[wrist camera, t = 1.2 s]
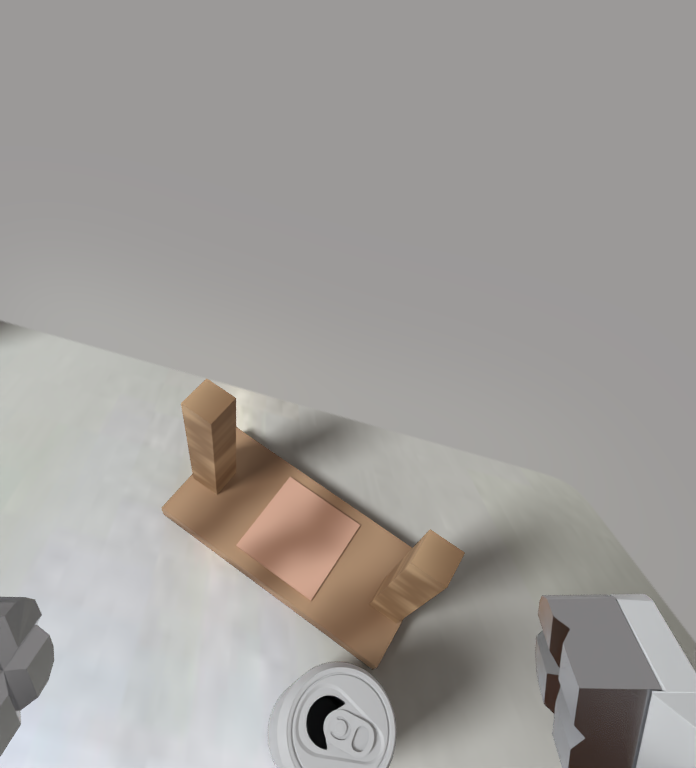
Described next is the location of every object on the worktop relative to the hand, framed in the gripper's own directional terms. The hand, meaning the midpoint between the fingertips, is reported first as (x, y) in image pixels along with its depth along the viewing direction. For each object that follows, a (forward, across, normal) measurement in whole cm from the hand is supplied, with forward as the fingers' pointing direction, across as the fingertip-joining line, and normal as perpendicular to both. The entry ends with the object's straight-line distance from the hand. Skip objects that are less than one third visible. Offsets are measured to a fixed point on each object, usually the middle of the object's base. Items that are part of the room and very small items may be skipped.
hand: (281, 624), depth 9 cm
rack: (+29, +6, +22) cm, 37 cm away
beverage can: (+19, +5, +30) cm, 35 cm away
